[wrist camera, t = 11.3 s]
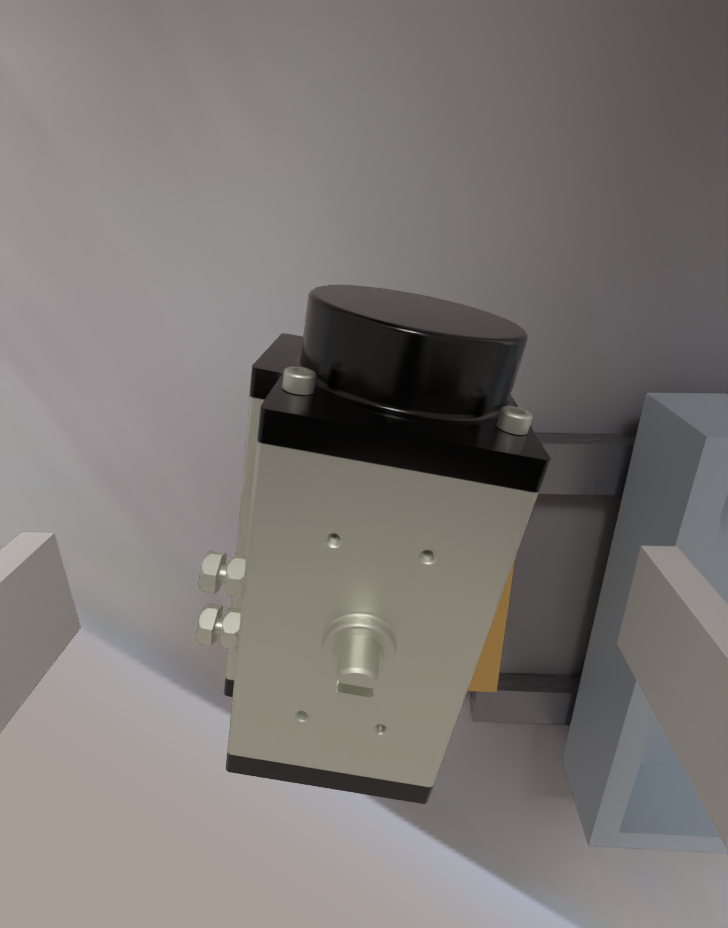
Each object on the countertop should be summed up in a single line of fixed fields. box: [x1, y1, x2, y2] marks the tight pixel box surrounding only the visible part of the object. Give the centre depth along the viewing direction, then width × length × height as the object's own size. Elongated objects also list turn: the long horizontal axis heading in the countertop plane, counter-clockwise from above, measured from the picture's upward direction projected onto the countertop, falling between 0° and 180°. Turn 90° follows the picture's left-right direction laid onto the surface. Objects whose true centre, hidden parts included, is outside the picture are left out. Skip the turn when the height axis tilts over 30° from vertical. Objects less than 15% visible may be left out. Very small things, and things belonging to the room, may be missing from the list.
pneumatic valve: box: [196, 285, 551, 804], centre depth 15 cm, size 6×12×12 cm, turn 170°
